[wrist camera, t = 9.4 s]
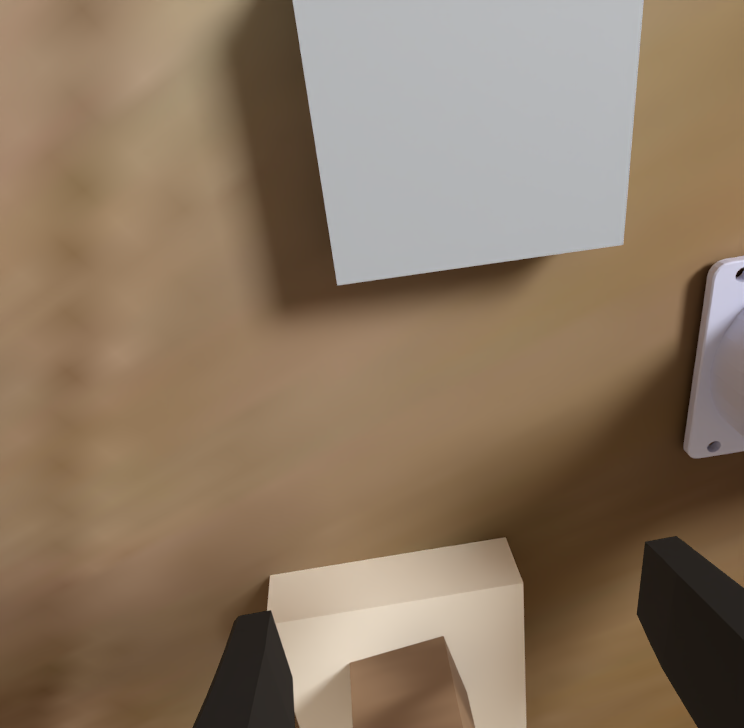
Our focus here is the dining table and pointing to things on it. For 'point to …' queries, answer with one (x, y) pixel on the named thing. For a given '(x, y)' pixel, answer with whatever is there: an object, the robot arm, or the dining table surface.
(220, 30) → the dining table surface
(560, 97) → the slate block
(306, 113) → the dining table surface
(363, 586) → the cream block
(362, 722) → the walnut cube
